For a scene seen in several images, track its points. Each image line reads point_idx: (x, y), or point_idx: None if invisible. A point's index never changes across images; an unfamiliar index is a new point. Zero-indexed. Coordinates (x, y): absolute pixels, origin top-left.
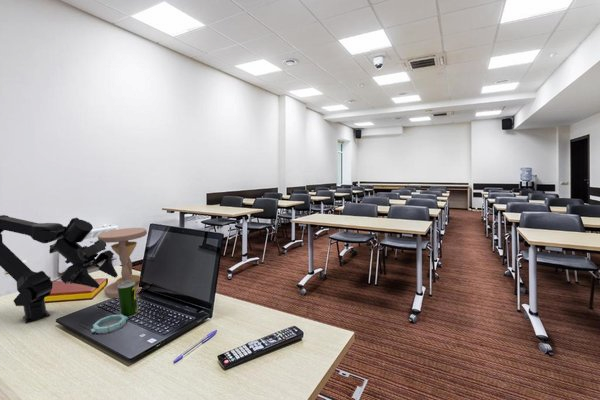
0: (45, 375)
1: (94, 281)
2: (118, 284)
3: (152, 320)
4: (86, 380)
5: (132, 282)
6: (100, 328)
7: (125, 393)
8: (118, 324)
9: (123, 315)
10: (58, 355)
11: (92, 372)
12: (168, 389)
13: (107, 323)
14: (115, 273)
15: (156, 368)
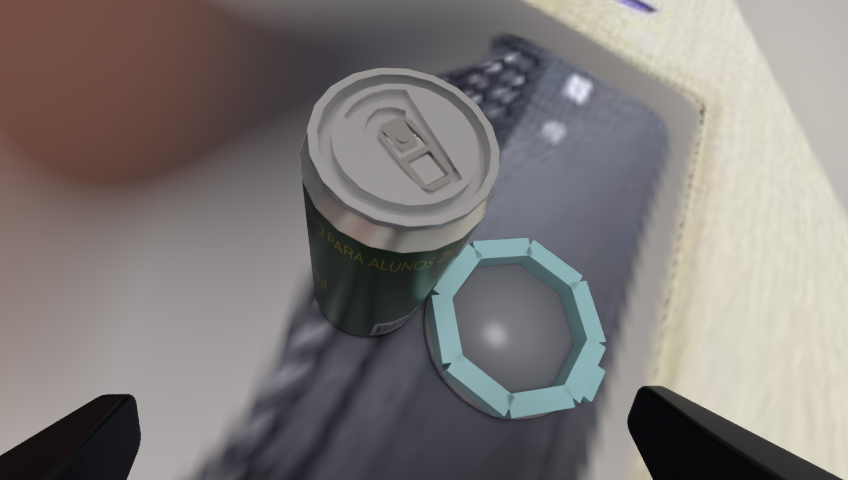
0: (843, 351)
1: (778, 456)
2: (482, 194)
3: None
4: (789, 189)
5: (412, 73)
6: (598, 320)
7: (771, 77)
8: (540, 246)
9: (446, 273)
10: (763, 417)
11: (763, 193)
12: (726, 6)
13: (499, 354)
14: (91, 434)
15: (685, 41)
